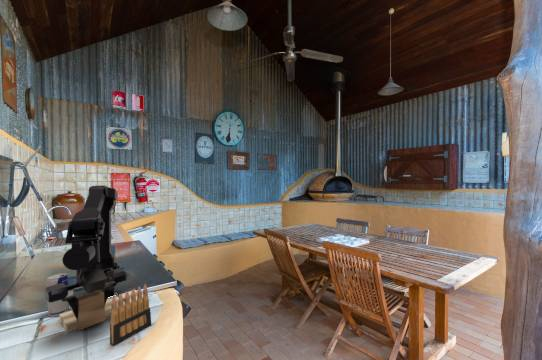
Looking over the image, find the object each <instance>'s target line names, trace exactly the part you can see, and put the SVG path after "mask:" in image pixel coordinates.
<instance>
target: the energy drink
mask: <svg viewBox="0 0 542 360" xmlns="http://www.w3.org/2000/svg"><path fill="white" fill-rule="evenodd" d="M60 283H64V284H65V285H66V286H67V285H69V276H68V274H67V273H65V272H61V273H60V272H59V273H56V274H53V275H52V274H51V275H49V276H47V277H46V288H47V287H48V286H52V285H56V284H60ZM46 302H47V304H46V305H47V316H48V317H50V318H51V317H52V318H55V317H58V316H59V314H62V313H65V312H68V311H70V306H69V304H68V302H67V301H64V302H63V301H61V300H58V301H55V302H48V301H47V300H46Z"/></svg>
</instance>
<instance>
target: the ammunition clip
mask: <svg viewBox="0 0 542 360" xmlns="http://www.w3.org/2000/svg"><path fill="white" fill-rule="evenodd" d="M134 290H135V288H132V290H131V291H132V293H131V305H130V297H129V293H128V292H129V291H126V292H125V293H126V294H125V307H124V304H123V297H122V295H121V294H122V293H119V294H120V295H119V300H118V311H117V303H116V299H115V297H113V299H112V305H111V316H110V324H109V345H111V346H114V345H115V346H117V345H119V344H120V343H123V342H124V341H126V340H127V339H130V338H131V337H133V336H135V335H137V334H138V333H140V332H141V331H144V330H146V329H147V328H149V327H151V326H152V312H151V307H150V299H149V293H148V287H147V284H146V283H144V285H143V289H141V286H138V287H137V302H136V294H135V291H134ZM142 294H143V299H142ZM115 346H114V347H115Z"/></svg>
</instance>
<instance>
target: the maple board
mask: <svg viewBox="0 0 542 360" xmlns="http://www.w3.org/2000/svg"><path fill="white" fill-rule="evenodd" d="M134 291H135V294H136V302H137V291H138V289H137V290H136V289H134ZM127 292H128V293H129V297H130V305H131V293H132V290H129V291H127ZM120 294H121V295H122V297H123V304H124V307H125V294H126V292H123V293H119V295H120ZM119 295H116V296H113V297H115V299H116V303H117V311H118V300H119ZM113 297H110V298H107V301H106V304H105V319H107V318H111V305H112V299H113ZM142 299H143V293H142ZM58 321H59V322H60V324H61V326H62V327H63V329H64V330H65V332H67V333H71V332H73V331H75V330H78V329H79V327H78V326H77V325H76V317H75V316H74V314H73V312H72V310H68V312H65V313H62V314H59V317H58Z"/></svg>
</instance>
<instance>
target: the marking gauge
mask: <svg viewBox="0 0 542 360" xmlns="http://www.w3.org/2000/svg"><path fill="white" fill-rule="evenodd" d="M75 296H76V304H77V310H78V318H76V325H77V326H78V327H79V328H78V329H79V330H83V329H86V328H89V327H91V326H94V325H97V324H99V323H101V322H104V321H106V318H105V302H104V292H102V291H101V290H97V291H94V292H92V293H86V292H85V293H83V294H80V295H75Z"/></svg>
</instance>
